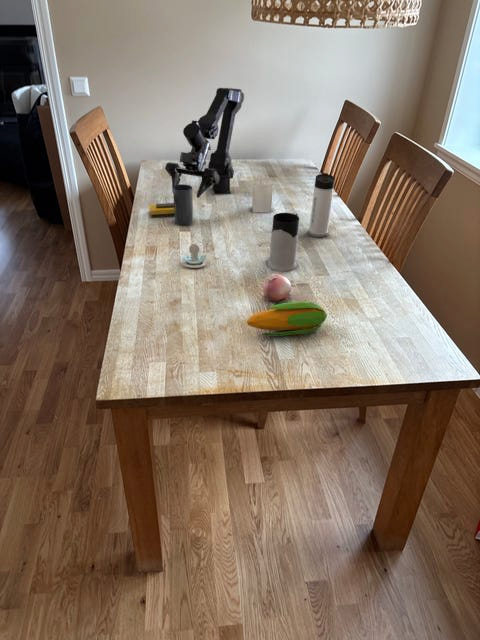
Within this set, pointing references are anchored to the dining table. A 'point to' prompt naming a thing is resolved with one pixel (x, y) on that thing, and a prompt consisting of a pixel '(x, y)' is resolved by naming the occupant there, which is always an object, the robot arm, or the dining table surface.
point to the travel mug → (321, 205)
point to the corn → (289, 318)
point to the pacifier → (194, 257)
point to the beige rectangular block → (262, 198)
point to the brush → (162, 210)
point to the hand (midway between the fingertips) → (185, 195)
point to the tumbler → (183, 204)
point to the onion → (276, 288)
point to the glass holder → (284, 241)
